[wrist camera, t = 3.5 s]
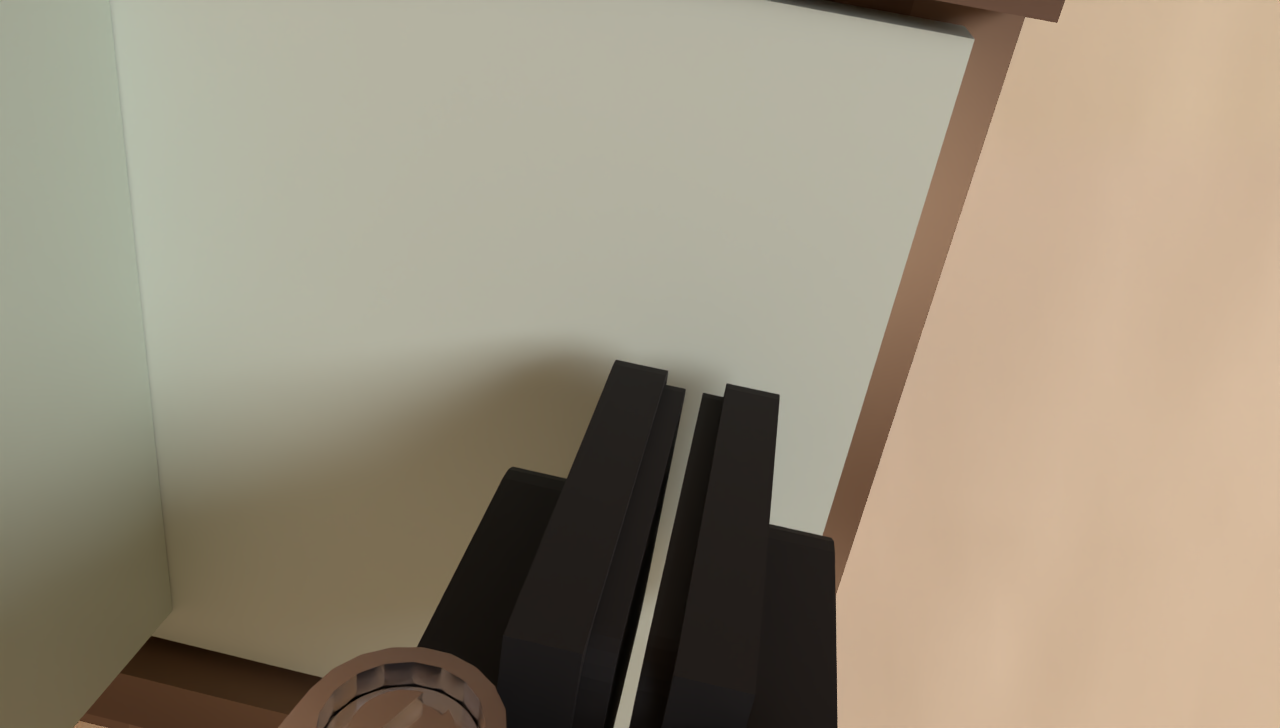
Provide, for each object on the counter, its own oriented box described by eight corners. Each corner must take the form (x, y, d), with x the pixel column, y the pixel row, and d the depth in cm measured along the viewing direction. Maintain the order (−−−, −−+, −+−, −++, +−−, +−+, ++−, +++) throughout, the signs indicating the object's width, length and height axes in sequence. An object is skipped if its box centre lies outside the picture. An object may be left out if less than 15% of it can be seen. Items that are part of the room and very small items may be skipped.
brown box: (-574, -595, 12) (-1229, -802, 8) (1074, -335, 10) (1214, -434, 6) (-210, 502, 19) (-456, 657, 16) (752, 734, 18) (734, 964, 14)
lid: (-47, -162, 10) (-480, -165, 7) (964, 26, 9) (1041, 129, 6) (75, 576, 14) (-144, 789, 11) (750, 739, 14) (727, 1019, 10)
